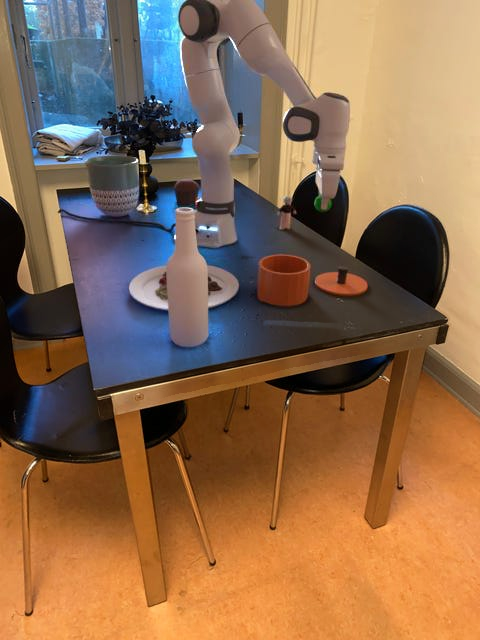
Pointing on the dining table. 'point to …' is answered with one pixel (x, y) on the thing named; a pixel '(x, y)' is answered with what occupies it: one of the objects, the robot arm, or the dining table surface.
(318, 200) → the polyhedron
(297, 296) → the pot
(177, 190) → the muffin
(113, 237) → the dining table surface
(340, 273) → the lid
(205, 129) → the robot arm
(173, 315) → the alcohol
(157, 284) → the plated food
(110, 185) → the planter
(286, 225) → the grandmother figurine
